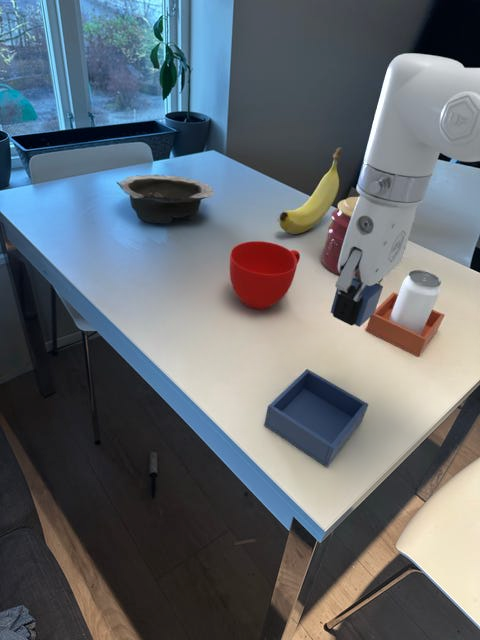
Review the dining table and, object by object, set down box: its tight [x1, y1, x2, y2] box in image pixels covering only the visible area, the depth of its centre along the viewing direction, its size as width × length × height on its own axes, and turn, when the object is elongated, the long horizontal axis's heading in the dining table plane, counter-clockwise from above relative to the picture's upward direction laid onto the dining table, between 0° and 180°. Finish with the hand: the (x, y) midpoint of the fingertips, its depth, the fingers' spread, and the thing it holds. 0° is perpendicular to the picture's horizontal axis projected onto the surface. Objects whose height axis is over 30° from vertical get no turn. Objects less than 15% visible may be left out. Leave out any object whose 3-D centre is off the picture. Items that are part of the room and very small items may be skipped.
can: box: [389, 269, 442, 335], centre depth 83 cm, size 6×6×12 cm
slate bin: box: [263, 368, 370, 468], centre depth 65 cm, size 11×11×4 cm
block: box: [330, 279, 384, 328], centre depth 60 cm, size 4×4×4 cm
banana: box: [278, 146, 343, 235], centre depth 115 cm, size 23×6×20 cm, turn 138°
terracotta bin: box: [365, 291, 446, 357], centre depth 87 cm, size 11×11×4 cm
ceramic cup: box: [229, 240, 301, 310], centre depth 89 cm, size 13×17×10 cm
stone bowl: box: [116, 174, 215, 224], centre depth 118 cm, size 25×25×9 cm
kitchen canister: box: [321, 196, 360, 276], centre depth 102 cm, size 13×13×18 cm
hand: (353, 311), depth 61 cm, fingers closed on block, 4 cm apart
